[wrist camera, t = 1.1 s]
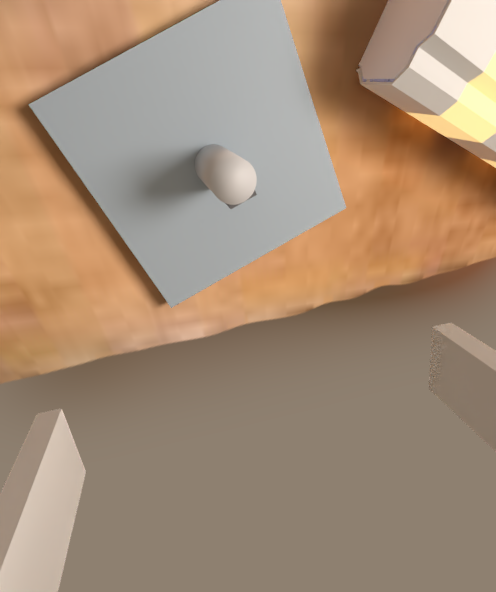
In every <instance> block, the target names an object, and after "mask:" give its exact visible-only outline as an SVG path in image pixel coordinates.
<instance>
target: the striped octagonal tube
mask: <svg viewBox="0 0 496 592" xmlns="http://www.w3.org/2000/svg"><path fill="white" fill-rule="evenodd" d="M358 66H359V69H356V72H358V74H359V80H360V84H361V85H362V86H364V87H366V88H367V89H369V90H370V91H372V92H374V93H375V94H377V95H378V96H380V97H382V98H383V99H385V100H387V101H388V102H390V103H391V104H393V105H395V106H396V107H398V108H400V109H401V110H403V111H404V112H406V113H408V114H409V115H411V116H413V117H414V118H416V119H417V120H419V121H421V122H422V123H424V124H425V125H427V126H429V127H430V128H432V129H434V130H435V131H437V132H438V133H440V134H442V135H443V136H445V137H447V138H448V139H450V140H451V141H453V142H455V143H456V144H458V145H459V146H461V147H463V148H464V149H466V150H468V151H469V152H471V153H472V154H474V155H476V156H477V157H479V158H481V159H482V160H484V161H485V162H487V163H489V164H490V165H492V166H493V167H495V168H496V0H388V2H387V4H386V7H385V9H384V11H383V13H382V15H381V17H380V20H379V22H378V24H377V26H376V28H375V30H374V33H373V35H372V37H371V39H370V41H369V43H368V46H367V48H366V50H365V52H364V54H363V56H362V59H361V61H360V63H359V65H358Z"/></svg>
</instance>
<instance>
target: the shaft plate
mask: <svg viewBox="0 0 496 592" xmlns="http://www.w3.org/2000/svg"><path fill="white" fill-rule="evenodd" d="M28 105H29V106H30V108H31V109H32V110H33V112H34V113H35V115H36V116H37V118H38V119H39V120H40V122H41V123H42V125H43V126H44V128H45V129H46V130H47V132H48V133H49V135H50V136H51V137H52V139H53V140H54V142H55V143H56V145H57V146H58V147H59V149H60V150H61V152H62V153H63V155H64V156H65V157H66V159H67V160H68V162H69V163H70V165H71V166H72V167H73V169H74V170H75V172H76V173H77V174H78V176H79V177H80V179H81V180H82V182H83V183H84V184H85V186H86V187H87V189H88V190H89V192H90V193H91V194H92V196H93V197H94V199H95V200H96V202H97V203H98V204H99V206H100V207H101V209H102V210H103V211H104V213H105V214H106V216H107V217H108V219H109V220H110V221H111V223H112V224H113V226H114V227H115V229H116V230H117V231H118V233H119V234H120V236H121V237H122V239H123V240H124V241H125V243H126V244H127V246H128V247H129V248H130V250H131V251H132V253H133V254H134V256H135V257H136V258H137V260H138V261H139V263H140V264H141V266H142V267H143V268H144V270H145V271H146V273H147V274H148V276H149V277H150V278H151V280H152V281H153V283H154V284H155V285H156V287H157V288H158V290H159V291H160V293H161V294H162V295H163V297H164V298H165V300H166V301H167V303H168V304H169V305H170V307H171V308H172V307H173V306H175V305H177V304H179V303H181V302H182V301H184V300H186V299H188V298H189V297H191V296H193V295H195V294H196V293H198V292H200V291H202V290H203V289H205V288H207V287H209V286H210V285H212V284H214V283H216V282H217V281H219V280H221V279H223V278H224V277H226V276H228V275H230V274H231V273H233V272H235V271H237V270H238V269H240V268H242V267H244V266H245V265H247V264H249V263H251V262H252V261H254V260H256V259H258V258H259V257H261V256H263V255H265V254H266V253H268V252H270V251H272V250H273V249H275V248H277V247H279V246H280V245H282V244H284V243H286V242H287V241H289V240H291V239H293V238H294V237H296V236H298V235H300V234H301V233H303V232H305V231H307V230H308V229H310V228H312V227H314V226H316V225H317V224H319V223H321V222H323V221H324V220H326V219H328V218H330V217H331V216H333V215H335V214H337V213H338V212H340V211H342V210H344V209H345V208H346V206H345V202H344V199H343V196H342V193H341V190H340V187H339V183H338V180H337V177H336V174H335V171H334V168H333V164H332V161H331V158H330V155H329V152H328V149H327V145H326V142H325V139H324V136H323V133H322V130H321V126H320V123H319V120H318V117H317V114H316V111H315V107H314V104H313V101H312V98H311V95H310V92H309V88H308V85H307V82H306V79H305V76H304V73H303V69H302V66H301V63H300V60H299V57H298V54H297V50H296V47H295V44H294V41H293V38H292V35H291V31H290V28H289V25H288V22H287V19H286V16H285V12H284V9H283V6H282V3H281V0H219V1H217V2H216V3H214V4H212V5H210V6H208V7H206V8H205V9H203V10H201V11H199V12H197V13H195V14H194V15H192V16H190V17H188V18H186V19H184V20H183V21H181V22H179V23H177V24H175V25H173V26H172V27H170V28H168V29H166V30H164V31H162V32H161V33H159V34H157V35H155V36H153V37H151V38H150V39H148V40H146V41H144V42H142V43H140V44H139V45H137V46H135V47H133V48H131V49H129V50H128V51H126V52H124V53H122V54H120V55H118V56H117V57H115V58H113V59H111V60H109V61H107V62H106V63H104V64H102V65H100V66H98V67H96V68H95V69H93V70H91V71H89V72H87V73H85V74H84V75H82V76H80V77H78V78H76V79H74V80H73V81H71V82H69V83H67V84H65V85H63V86H62V87H60V88H58V89H56V90H54V91H52V92H51V93H49V94H47V95H45V96H43V97H41V98H39V99H38V100H36V101H34V102H32V103H30V104H28Z"/></svg>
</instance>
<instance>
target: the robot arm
mask: <svg viewBox="0 0 496 592" xmlns="http://www.w3.org/2000/svg"><path fill="white" fill-rule="evenodd" d="M429 389H430V390H431V391H432V392H433V393H434V394H435V395H436V396H437V397H438V398H439V399H440V400H441V401H443V403H444V404H445V405H447V406H448V407H449V408H450V409H451V410H452V411H453V412H454V413H455V414H456V415H457V416H458V417H459V418H461V420H462V421H464V422H465V423H466V424H467V425H468V426H469V427H470V428H471V429H472V430H473V431H474V432H475V433H476V434H477V435H478V436H480V438H482V439H483V440H484V441H485V442H486V443H487V444H488V445H489V446H490V447H491V448H492V449H493V450H494V451H495V452H496V351H495V350H493V349H492V348H490V347H489V346H487V345H486V344H484V343H482V342H481V341H479V340H478V339H476V338H475V337H473V336H472V335H470V334H468V333H467V332H465V331H464V330H462V329H461V328H459V327H457V326H456V325H454V324H453V323H447V324H443V325H438V326H433V327H432V341H431V358H430V375H429ZM85 473H86V471H85V468H84V466H83V463H82V461H81V458H80V455H79V453H78V450H77V447H76V445H75V442H74V440H73V437H72V434H71V432H70V429H69V426H68V424H67V421H66V419H65V416H64V414H63V411H62V409H57V410H52V411H48V412H44V413H39V414H37V415H36V417H35V419H34V421H33V423H32V426H31V428H30V430H29V432H28V434H27V437H26V439H25V441H24V443H23V445H22V447H21V450H20V452H19V454H18V456H17V458H16V460H15V463H14V465H13V467H12V469H11V471H10V474H9V476H8V478H7V480H6V482H5V484H4V486H3V489H2V491H1V493H0V592H58V589H59V585H60V581H61V576H62V572H63V567H64V564H65V559H66V555H67V550H68V546H69V541H70V538H71V534H72V529H73V524H74V520H75V516H76V512H77V508H78V504H79V499H80V495H81V490H82V486H83V482H84V478H85Z"/></svg>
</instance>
